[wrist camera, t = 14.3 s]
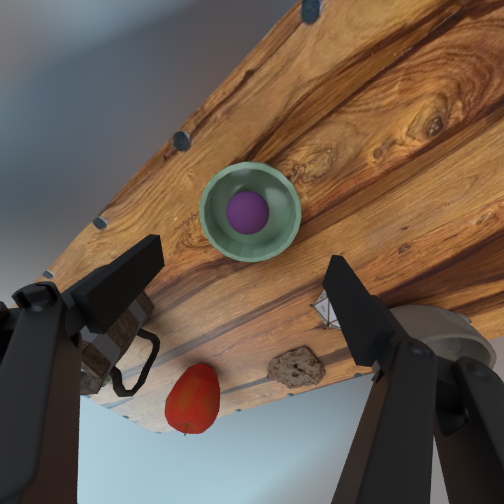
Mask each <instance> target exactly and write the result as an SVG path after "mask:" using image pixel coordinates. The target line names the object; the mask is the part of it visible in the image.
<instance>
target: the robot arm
mask: <svg viewBox="0 0 504 504" xmlns="http://www.w3.org/2000/svg"><path fill="white" fill-rule="evenodd" d="M164 266H165V265H164V258H163V252H162V246H161V240H160V235H153V234H149V235H148V236H147V237H145V238H144V239H142V240H141V241H140V242H138V243H137V244H136V245H134V246H133V247H131V248H130V249H129V250H127V251H126V252H125V253H123V254H122V255H121V256H119V257H118V258H116V259H115V260H114V261H112V262H111V263H110V264H108V265H104V266H101V267H99V268H97V269H95V270H94V271H92V272H91V273H89V274H88V275H87V276H85V277H84V278H82V280H79V281H78V282H77V283H75V284H74V285H72V286H71V287H69V288H68V289H67V290H65V291H64V292H62V293H61V294H60V292H59V291H58V289H57V287H56V285H55V283H53V282H48V281H44V282H37V283H34V284H30V285H27V286H25V287H23V288H21V289H19V290H18V291H16V292H15V293H14V294H13V295H12V298H13V299H14V301H15V302H16V304H17V305H18V306H19V308H11V309H8V308H7V307H6V305H5V304H4V303H3V302H1V301H0V504H77V481H78V479H77V478H78V448H79V415H80V384H81V352H82V334H81V332H80V330H81V329H82V328H84V327H85V326H87V328H88V330H89V332H90V333H94V334H102V335H104V334H105V333H106V332H107V331H108V330H109V329H110V327H111V326H112V325H113V324H114V323H115V322H116V321H117V319H118V318H119V317H120V316H121V315H122V314H123V313H124V311H125V310H126V309H127V308H128V307H129V306H130V305H131V303H132V302H133V301H134V300H135V299H136V298H137V297H138V295H139V294H140V293H141V292H142V291H143V290H144V289H145V287H146V286H147V285H148V284H149V283H150V282H151V281H152V279H153V278H154V277H155V276H156V275H157V274H158V273H159V271H160V270H161V269H162V268H163V267H164ZM322 284H323V287H324V289H325V292H326V294H327V297H328V299H329V301H330V304H331V306H332V309H333V311H334V313H335V316H336V318H337V321H338V323H339V325H340V328H341V330H342V333H343V335H344V337H345V340H346V342H347V345H348V347H349V349H350V352H351V354H352V357H353V359H354V361H355V364H356V365H358V366H366V367H372V365H373V364H374V362H375V361H376V360H377V362H378V364H379V366H380V369H379V370H378V371H377V373H376V374H375V375H374V377H373V378H372V381H373V382H374V383H373V386H372V388H371V391H370V394H369V397H368V400H367V403H366V405H365V408H364V411H363V414H362V417H361V420H360V422H359V425H358V428H357V431H356V434H355V437H354V440H353V442H352V445H351V448H350V451H349V454H348V457H347V459H346V462H345V465H344V468H343V471H342V474H341V476H340V480H339V482H338V485H337V488H336V491H335V494H334V496H333V499H332V502H331V504H430V491H431V490H430V489H431V473H432V455H433V438H434V437H435V441H436V446H437V450H438V455H439V459H440V464H441V468H442V473H443V477H444V482H445V486H446V491H447V495H448V500H449V504H504V383H503V381H502V380H501V379H500V377H499V376H498V375H497V374H496V373H495V372H494V371H493V370H492V369H490V368H489V367H488V366H486V365H485V364H483V363H482V362H480V361H478V360H476V359H474V358H470V357H467V356H460V357H459V358H458V359H457V360H456V361H455V362H454V361H451V360H448V359H446V358H443V357H440V356H437V355H436V354H435V353H434V351H433V350H432V349H431V348H430V347H429V346H427V345H426V344H425V343H423V342H422V341H420V340H418V339H415V338H413V337H410V336H409V334H408V333H407V332H406V330H405V329H404V328H403V327H402V325H401V324H400V323H399V321H398V320H397V319H396V317H395V316H393V314H392V312H391V311H390V310H389V308H388V307H387V306H386V304H385V303H384V302H383V301H382V300H381V299H379V298H378V297H377V296H376V295H370V294H369V292H368V291H367V290H366V288H365V287H364V285H363V284H362V283H361V281H360V280H359V278H358V277H357V276H356V274H355V273H354V271H353V270H352V269H351V267H350V266H349V264H348V263H347V262H346V260H345V259H344V257H343V256H338V255H332V257H331V260H330V263H329V266H328V269H327V271H326V274H325V277H324V280H323V283H322ZM433 436H434V437H433Z"/></svg>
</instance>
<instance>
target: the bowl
mask: <svg viewBox="0 0 504 504" xmlns="http://www.w3.org/2000/svg"><path fill="white" fill-rule="evenodd" d="M389 310H390V311H391V312H392V314H393V316H395V317H396V319H397V320H398V321H399V323H400V324H401V325H402V327H403V328H404V329H405V330H406V332H407V333H408V334H409V336H410V337H413V338H415V339H418V340H420V341H422V342H423V343H425V344H426V345H427V346H429V347H430V348H431V349H432V350H433V351H434V353H435V354H436V355H437V356H440V357H443V358H446V359H448V360H451V361H454V362H455V361H456V360H457V359H458V358H459V357H460V356H467V357H470V358H474V359H476V360H478V361H480V362H482V363H483V364H485V365H486V366H488V367H489V368H490V369H493V367H494V364H495V362H496V353H495V351H494V349H493V347H492V346H491V344H489V342H488V341H487V340H486V339H485V338H484V337H483V336H482V335H481V334H480V333H479V332H478V331H477V330H476V329H475V328H474V327H472V326H471V325H470V323H472V322H471V320H470V319H469V318H468V317H466V316H464V315H462V314H460V313H457V312H453V313H452V312H450V311H448V310H446V309H443V308H439V307H436V306H431V305H405V306H399V307H395V308H392V309H389ZM371 368H372V370H373V372H374V374H376V373H377V371H378V370H379V369H380V366H379V364H378V362H377V360H376V361H375V362H374V364H373V365H372V367H371Z"/></svg>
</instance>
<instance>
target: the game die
mask: <svg viewBox="0 0 504 504" xmlns="http://www.w3.org/2000/svg"><path fill="white" fill-rule="evenodd" d="M308 306H310V307H314V308H315V310H316V312H317V313H318V315H319V317H320V318H321V320H322V321H323V323H324V326H323V329H326V327H331V328H335V329H339V330H341V328H340V325H339V323H338V321H337V318H336V316H335V313H334V311H333V309H332V306H331V304H330V301H329V299H328V297H327V294H326V292H325V289H324V290H323V292H322V293H321V295H320V296H319V298H318V299H317V300H316V302H315V303H314V305H312V304H310V305H308Z"/></svg>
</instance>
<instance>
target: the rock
mask: <svg viewBox="0 0 504 504" xmlns="http://www.w3.org/2000/svg"><path fill="white" fill-rule="evenodd" d="M268 371H269V373H268V374H267V378H269V379H271V380H277V381H278V382H282V383H283V384H285V385H286V386H287V387H288V388H289V389H291V388H299V387H301V386H302V385H305V386H308V385H312V384H315V385H317V384H318V383H319V382H320V381H321V379H322V378H323V377H324V375H325V374H326V371H325V370H324V367H322V366H321V363H320V362H318V360H317V359H316V357H315V356H314V355H313V354H312V352H311V350H310V349H309V348H307V347H305V346H303V347H301V348H298V350H295V351H294V352H288V353H287V354H285V355H282V356H281V357H278V358H275V359H273V361H272V364H271V365H270V366H269V370H268Z"/></svg>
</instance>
